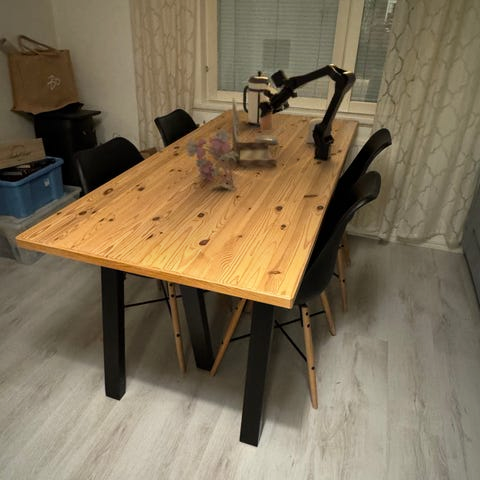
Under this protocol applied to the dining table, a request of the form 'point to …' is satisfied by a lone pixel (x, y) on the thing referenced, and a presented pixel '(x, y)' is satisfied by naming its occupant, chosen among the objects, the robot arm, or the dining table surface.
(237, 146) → the cold frame
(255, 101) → the coffee press
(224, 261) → the dining table surface
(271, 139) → the grey plate
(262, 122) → the tan tapered cylinder
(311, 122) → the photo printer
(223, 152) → the flower
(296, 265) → the dining table surface
